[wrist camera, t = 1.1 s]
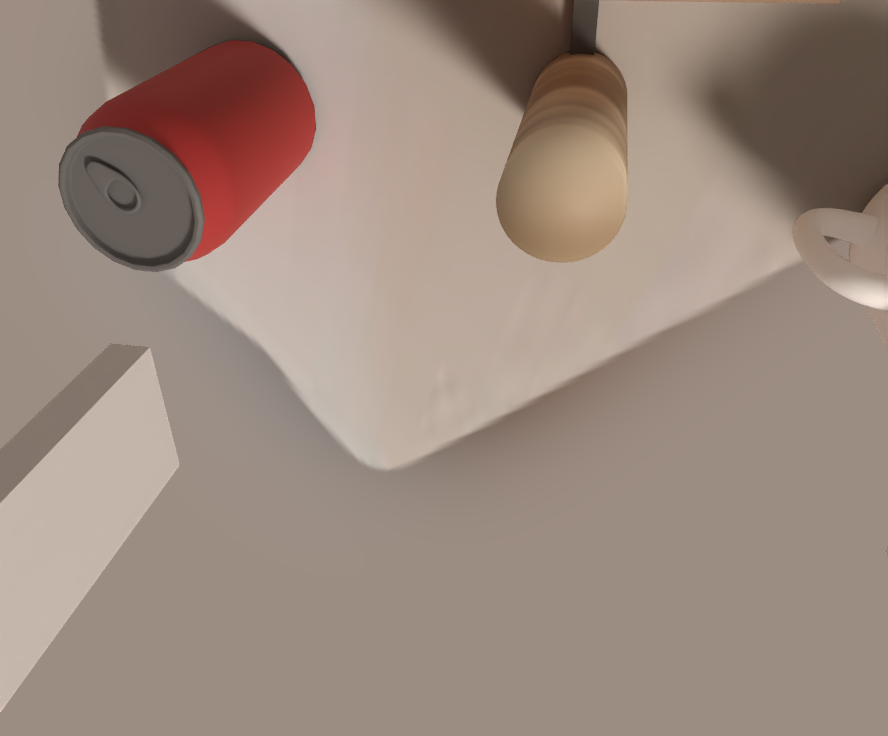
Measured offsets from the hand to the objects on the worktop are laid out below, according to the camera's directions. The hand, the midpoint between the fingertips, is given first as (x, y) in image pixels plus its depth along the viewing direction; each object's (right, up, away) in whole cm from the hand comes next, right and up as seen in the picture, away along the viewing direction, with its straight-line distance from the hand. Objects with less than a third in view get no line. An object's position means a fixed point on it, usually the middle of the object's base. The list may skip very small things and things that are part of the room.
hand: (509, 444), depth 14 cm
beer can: (-10, +14, +25) cm, 30 cm away
